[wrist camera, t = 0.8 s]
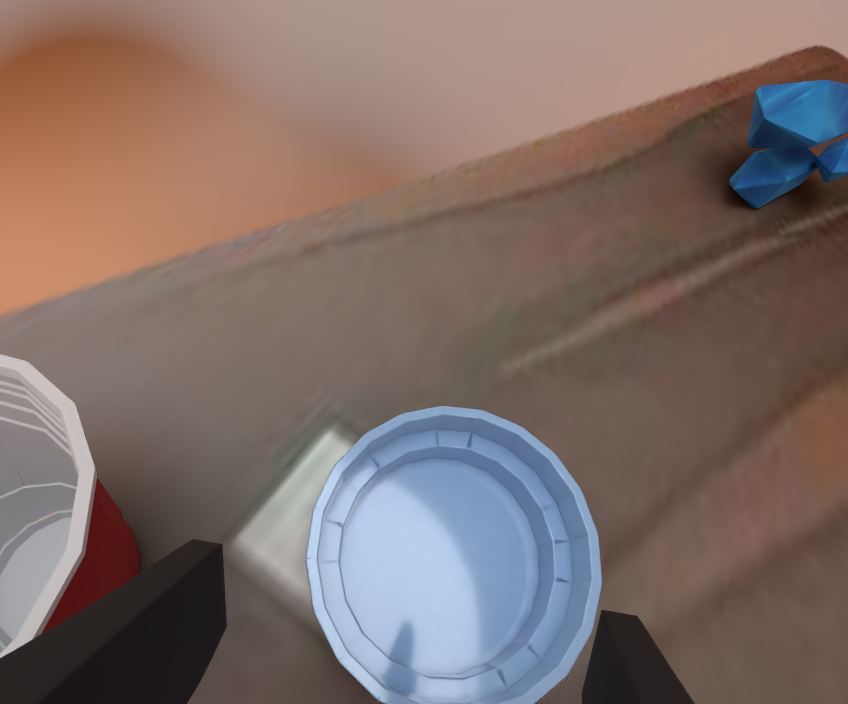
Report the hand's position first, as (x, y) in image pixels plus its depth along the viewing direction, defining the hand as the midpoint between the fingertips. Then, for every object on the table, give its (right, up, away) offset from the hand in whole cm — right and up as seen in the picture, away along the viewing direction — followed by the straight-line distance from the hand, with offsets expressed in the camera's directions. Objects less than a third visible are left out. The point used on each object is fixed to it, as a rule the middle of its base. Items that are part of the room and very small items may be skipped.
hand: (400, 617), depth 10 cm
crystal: (+26, +18, +31) cm, 44 cm away
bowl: (+1, -5, +15) cm, 16 cm away
